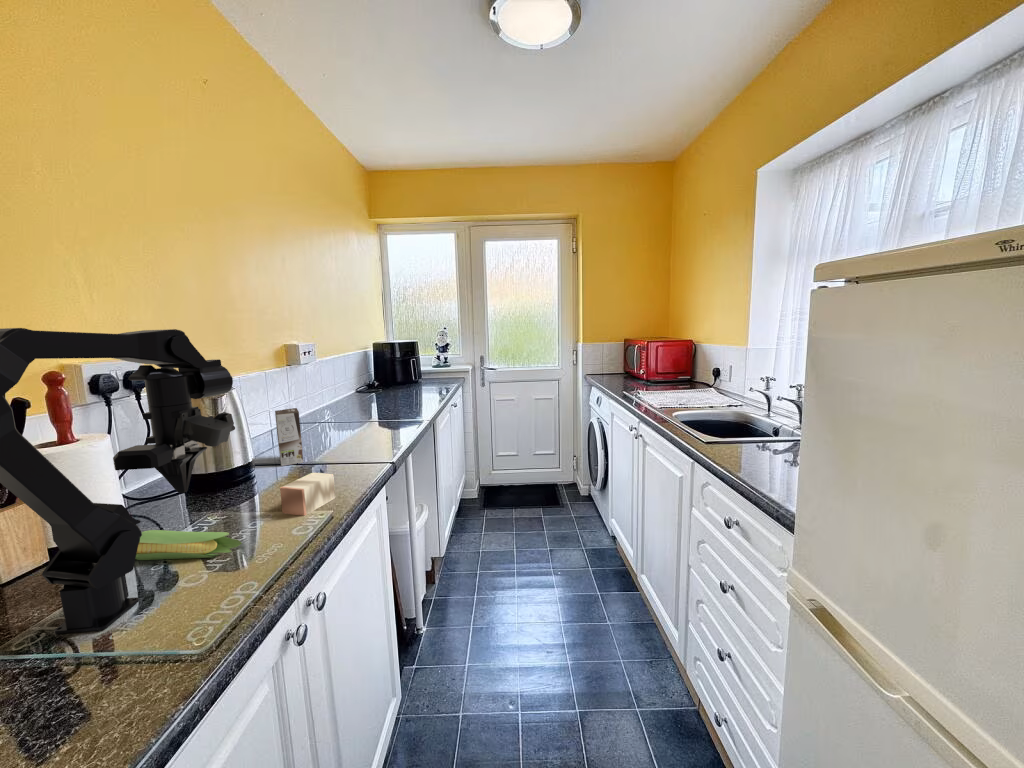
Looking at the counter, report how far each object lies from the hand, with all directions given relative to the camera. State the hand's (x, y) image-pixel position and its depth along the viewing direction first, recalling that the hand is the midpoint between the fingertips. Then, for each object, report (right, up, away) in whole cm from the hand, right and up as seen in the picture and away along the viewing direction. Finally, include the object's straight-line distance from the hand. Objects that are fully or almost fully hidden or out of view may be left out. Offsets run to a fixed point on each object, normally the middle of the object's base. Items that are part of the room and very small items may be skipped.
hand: (182, 492), depth 73 cm
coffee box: (-12, -6, +59) cm, 61 cm away
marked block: (+9, -7, +20) cm, 23 cm away
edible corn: (-3, -13, +4) cm, 14 cm away
